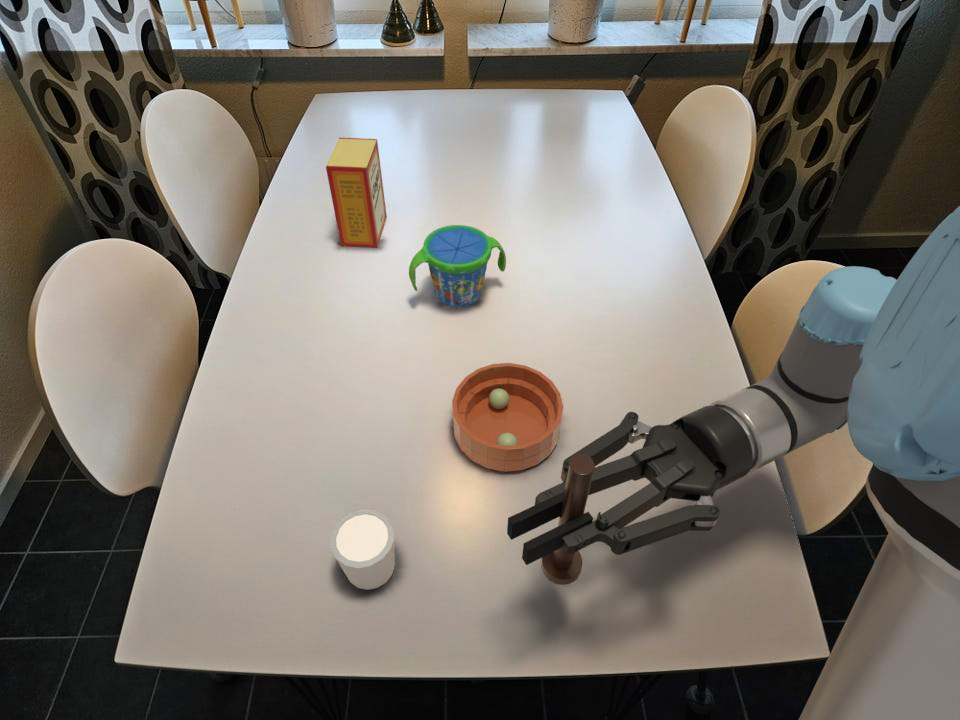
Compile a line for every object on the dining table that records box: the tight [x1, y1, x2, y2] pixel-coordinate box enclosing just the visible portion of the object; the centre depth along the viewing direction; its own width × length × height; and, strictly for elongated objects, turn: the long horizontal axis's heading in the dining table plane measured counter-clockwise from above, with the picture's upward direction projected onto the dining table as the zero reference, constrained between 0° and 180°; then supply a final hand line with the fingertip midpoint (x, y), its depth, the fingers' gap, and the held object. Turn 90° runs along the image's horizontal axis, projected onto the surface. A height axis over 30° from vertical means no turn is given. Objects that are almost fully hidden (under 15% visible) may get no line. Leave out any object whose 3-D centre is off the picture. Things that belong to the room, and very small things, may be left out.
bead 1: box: [489, 388, 509, 409], centre depth 88 cm, size 3×3×3 cm
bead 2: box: [496, 433, 518, 446], centre depth 83 cm, size 3×3×3 cm
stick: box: [540, 454, 596, 586], centre depth 58 cm, size 4×4×18 cm
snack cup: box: [408, 224, 507, 309], centre depth 102 cm, size 16×10×10 cm
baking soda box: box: [325, 137, 388, 249], centre depth 112 cm, size 10×6×16 cm
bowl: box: [451, 362, 564, 472], centre depth 85 cm, size 14×14×6 cm
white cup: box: [329, 508, 396, 591], centre depth 72 cm, size 7×7×7 cm
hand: (517, 541), depth 56 cm, fingers closed on stick, 2 cm apart
